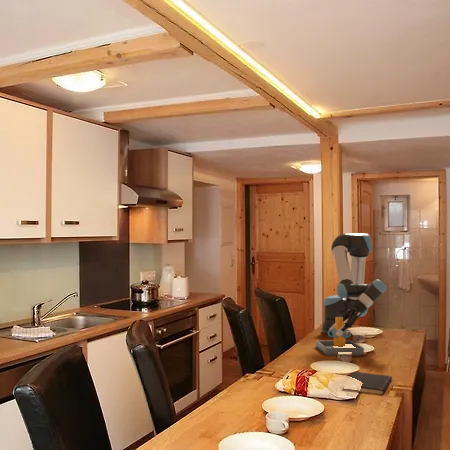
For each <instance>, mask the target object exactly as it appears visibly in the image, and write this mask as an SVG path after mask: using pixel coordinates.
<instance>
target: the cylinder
mask: <svg viewBox="0 0 450 450" xmlns="http://www.w3.org/2000/svg"><path fill="white" fill-rule="evenodd" d="M343 323H344V322H343V317H335V324H336V329H335V328H333V329H330V330H329V331H328V334H327V335H328V337H329V338H333V341H334V346H338V347H343V346H345V341H346V339H347V338H349V337H351V336H352V332H351V330H350V329H349V328H347V329H346V330H345V332H344V333H343V334H342V335H341V336H340V337H339V336H338V335H337V334H336V332H337V331H338V330H339V329H340V328H341V327H342V326H343ZM330 331H332V334H333V335H331V334H329V332H330ZM333 331H334V333H333ZM348 332H349V334H348Z"/></svg>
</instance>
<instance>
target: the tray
mask: <svg viewBox="0 0 450 450" xmlns="http://www.w3.org/2000/svg"><path fill="white" fill-rule="evenodd" d="M345 344H352V345H353V346H354V347H356V348H334V347H333V346H334V340H315V348H316V349H317V350H319V351H320V352H321V353H322V354H323V355H325V356H338V355H337V354H338V352H352V355H351V356H364V355H365V348H364V347H363V346H361V345H360V344H358V343H356V342H355V341H353V340H351V339H350V340H345Z"/></svg>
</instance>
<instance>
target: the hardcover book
mask: <svg viewBox="0 0 450 450" xmlns="http://www.w3.org/2000/svg"><path fill="white" fill-rule="evenodd" d="M349 377H352V378H355V379H357V380H359V381H361V382H362V383H363V384H362V386H361V390H360V391H359V392H362V393H368V394H376V395H377V394H378V395H384V393H385V392H386V391H387V389H388V388H389V385H390V384H391V382H392V380H393V376H391V375H387V374H378V373H377V374H376V373H368V372H359V371H353V372H352V374H351V375H349Z"/></svg>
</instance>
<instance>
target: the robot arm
mask: <svg viewBox="0 0 450 450" xmlns="http://www.w3.org/2000/svg"><path fill="white" fill-rule="evenodd" d="M371 237H372V236H370V234H369V233H362V232H359V233H358V232H356V233H351V232H350V233H347V232H345V233H340V234H339V235H337V236H336V237H335V238H334V240H333V241H332V244H331V254H332V256H333V257H334V258H333V259H334V263H335V267H336V273H337V277H338V278H337V279H338V283H337V285H336V288H335V289H336V295H335V294H334V295H329V296H326V297H324V301H323V307H324V308H323V312H324V313H323V317H324V318H323V323H322V325H321V333H322V334H324V335H328V331H329V330H330V329H333V328H335V329H336V324H335V317H343V326H342V327H341V328H340V329H339V330H338V331H337V332H336V334H337V335H338V336H339V337H340V336H341V335H342V334H343V333H344V332H345V330H346V329H349V328H352V327H353V325H354V324H355V323H356V322H357V320H358V318H360V317H365V316H366V315H367V313H368V309H369V308H370V307H372V306H373V304H374V303H375V302H376V301H377V299H379V298H380V297H381V296H382V295H383V294H384V293H385V291H386V290H387V285H386V284H385V283H384V282H383V281H381V280H380V279H378V278H377V279H375V280H373V281H372V283H365V276H366V261H367V258H368V257H369V255H370V253H371V254H372V252H373V242H372V238H371ZM348 254H349V256H350V257H351V263H350V262H349V257H348ZM333 333H334V331H333ZM329 334H330V335H331V336H333V334H332V331H330V332H329Z"/></svg>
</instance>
